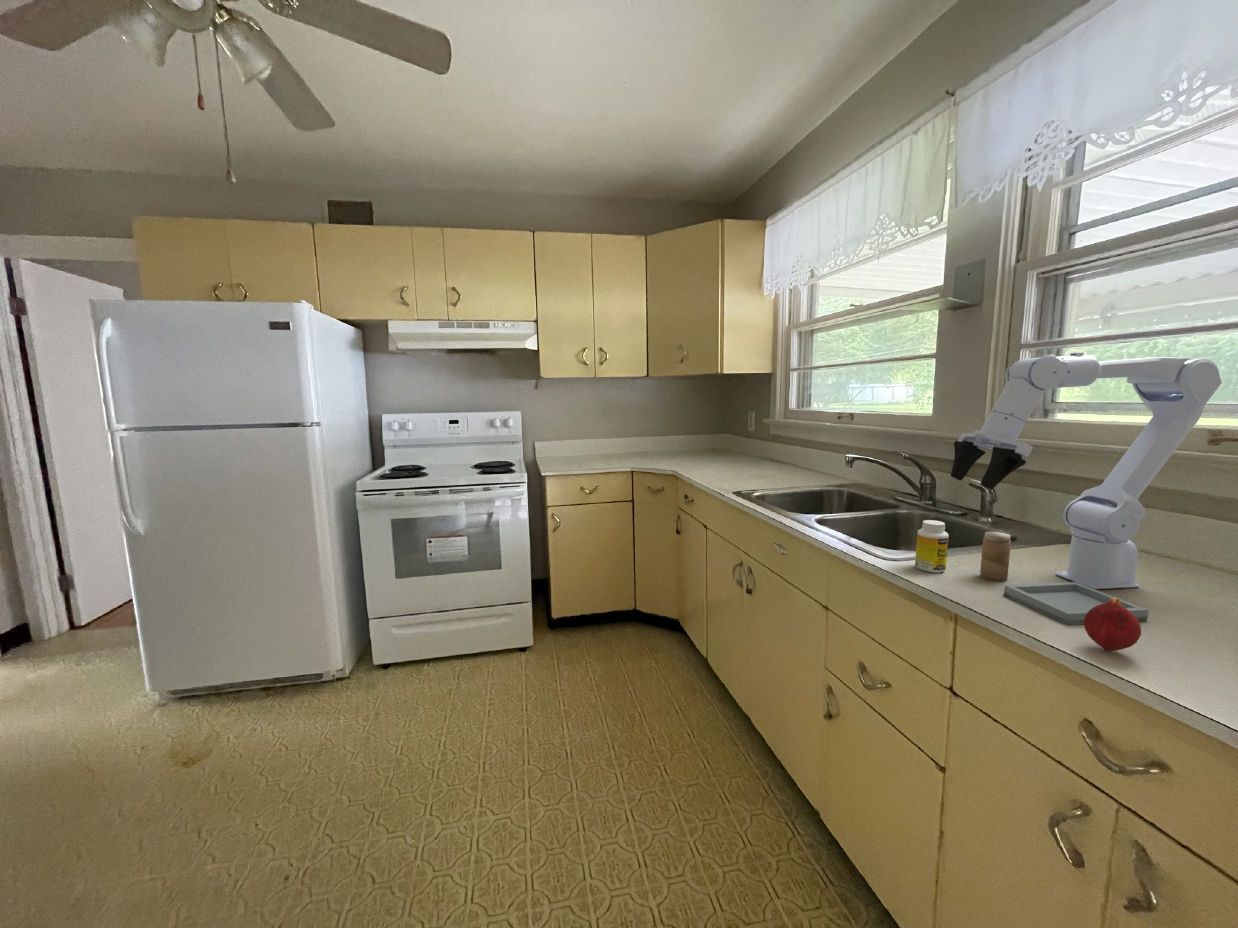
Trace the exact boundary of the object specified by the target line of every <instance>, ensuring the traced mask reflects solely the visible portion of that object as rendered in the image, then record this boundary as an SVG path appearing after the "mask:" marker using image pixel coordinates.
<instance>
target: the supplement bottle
mask: <svg viewBox="0 0 1238 928" xmlns="http://www.w3.org/2000/svg"><path fill="white" fill-rule="evenodd" d="M945 530H946V524H945V522H943V521H941V520H931V519H926V520H923V521H922V526H921V528H920V529H918V530H917V532H916V533H917V535H916V546H915V558H914V559H915V562H914V566H915V568H917V569H918V570H921V571H923V572H928V573H933V574H934V573H935V574H936V573H937V574H938V573H943V572H945V571H946V569H947V561H948V560H947V557H948V546H949V537H950V536H949V533H948V532H947V531H945Z"/></svg>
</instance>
